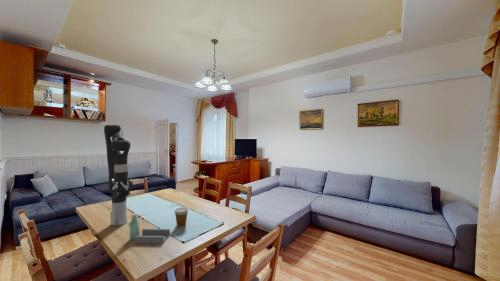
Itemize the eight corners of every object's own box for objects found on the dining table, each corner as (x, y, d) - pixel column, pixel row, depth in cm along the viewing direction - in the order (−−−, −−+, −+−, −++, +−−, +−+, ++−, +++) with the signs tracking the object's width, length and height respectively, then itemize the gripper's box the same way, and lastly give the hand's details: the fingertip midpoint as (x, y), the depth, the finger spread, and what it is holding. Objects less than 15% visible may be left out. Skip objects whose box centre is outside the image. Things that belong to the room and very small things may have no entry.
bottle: (128, 240, 126) (127, 215, 126) (133, 236, 131) (132, 212, 131) (136, 240, 126) (135, 215, 126) (140, 236, 131) (140, 212, 131)
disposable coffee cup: (176, 222, 152) (176, 207, 152) (189, 222, 153) (189, 207, 152) (172, 228, 142) (172, 212, 142) (186, 228, 143) (186, 212, 143)
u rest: (134, 242, 124) (134, 236, 123) (143, 234, 134) (143, 228, 134) (163, 243, 123) (162, 237, 123) (169, 234, 134) (169, 229, 134)
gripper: (106, 171, 125) (106, 196, 126) (127, 172, 124) (128, 197, 125) (114, 169, 133) (115, 193, 133) (135, 170, 132) (135, 193, 132)
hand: (121, 195), depth 129 cm, fingers open, 8 cm apart
